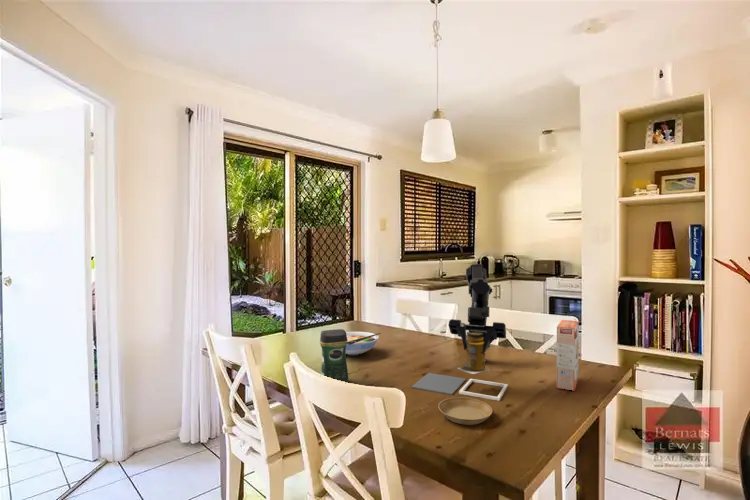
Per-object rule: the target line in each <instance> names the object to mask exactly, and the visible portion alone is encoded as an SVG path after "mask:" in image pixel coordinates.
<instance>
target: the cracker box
mask: <svg viewBox="0 0 750 500" xmlns="http://www.w3.org/2000/svg"><path fill="white" fill-rule="evenodd" d="M579 324H580V323H579V321H577V320H570V319H568V320H567V319H561V320H560V322H559V323H558V325H556V365H555V366H556V373H555V374H556V375H555V377H556V378H555V380H556V381H555V386H556V389H560V390H564V389H565V391H569V390H572V391H571V392H575V391H576V387H577V385H576V384H578V381H579V352H580V351H579V347H580V346H579V344H580V343H579V339H580V338H579V335H580V334H579V332H580V331H579V330H580V327H579Z"/></svg>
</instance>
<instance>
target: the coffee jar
mask: <svg viewBox="0 0 750 500" xmlns="http://www.w3.org/2000/svg"><path fill="white" fill-rule="evenodd" d="M320 331H321V330H320ZM346 332H347V331H346V330H345V329H343V328H339V329H338V328H337V329H336V328H335V329H327V330H322V331H321V332H320V338H319V344H320V347H321V364H320V365H321V367H320V375H321V374H322V375H324V376H327V377H331V378H333V379H337V380H341V381H345V382H347V383H348V381H349V372H348V370H349V369H348V364H347V355H346V345H347V335H346Z"/></svg>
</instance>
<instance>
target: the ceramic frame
mask: <svg viewBox="0 0 750 500" xmlns="http://www.w3.org/2000/svg"><path fill="white" fill-rule="evenodd" d="M472 383H475V384H476V383H478V384H484V385H489V386H494V387H495V386H496V387H501V390H500V392H499V394H498V395H497V396H494V395H487V394H482V393H477V392H471V391H466V390H467V389H468V387H469V386H470V385H471V384H472ZM507 389H508V383H502V382H496V381H495V382H494V381H487V380H482V379H476V378H469V380H468V381H467V382H465V384H464V385H463V386H462V387H461V388H460V389H459V391H458V394H459V395H465V396H470V397H476V398H482V399H487V400H492V401H499V402H500V401H501V399H502V397H503V395H504V394H505V393H506V391H507Z"/></svg>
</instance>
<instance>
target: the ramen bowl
mask: <svg viewBox="0 0 750 500" xmlns="http://www.w3.org/2000/svg"><path fill="white" fill-rule="evenodd" d="M381 334H382V333H381V332H378V333H372V332H368V331H367V332H366V331H346V335H347V345H346V354H347V355H346V356H359V354H360V355H362V354H363V353H364V354H365V353H366V352H369V351H370V350H371V349H373V348H374V347H375V346H376V343H378V340H379V335H381Z"/></svg>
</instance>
